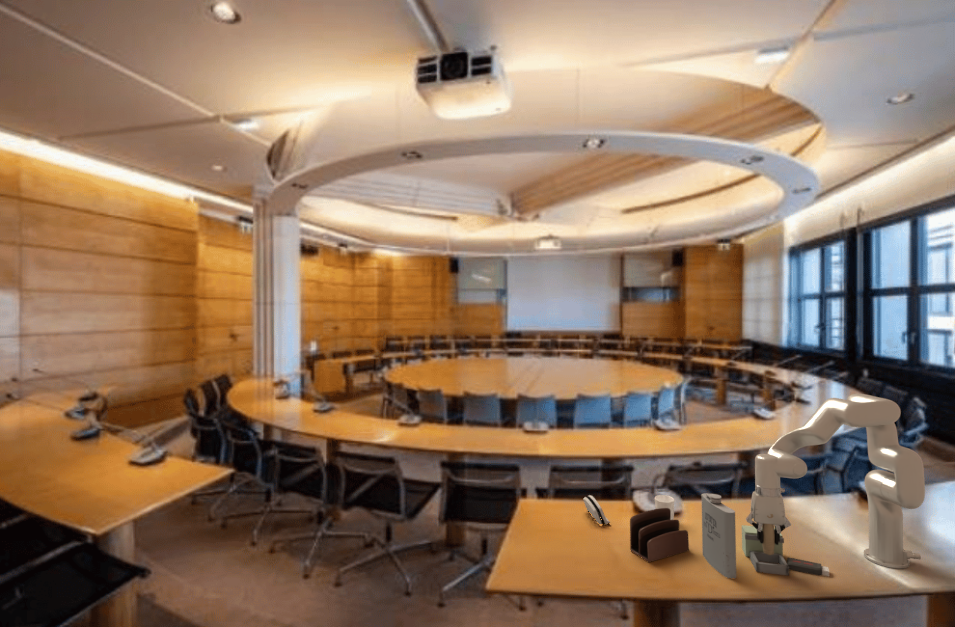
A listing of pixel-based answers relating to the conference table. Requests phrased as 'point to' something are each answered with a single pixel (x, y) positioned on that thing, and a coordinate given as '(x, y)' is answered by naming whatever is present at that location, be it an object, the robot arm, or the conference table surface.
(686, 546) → the letter holder
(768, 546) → the handle
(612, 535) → the conference table surface
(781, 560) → the green box on stand
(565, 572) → the conference table surface
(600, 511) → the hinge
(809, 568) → the usb drive
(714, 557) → the flask
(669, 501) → the white cup
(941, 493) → the conference table surface
